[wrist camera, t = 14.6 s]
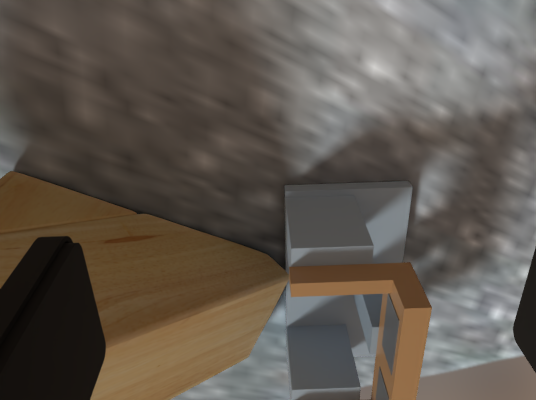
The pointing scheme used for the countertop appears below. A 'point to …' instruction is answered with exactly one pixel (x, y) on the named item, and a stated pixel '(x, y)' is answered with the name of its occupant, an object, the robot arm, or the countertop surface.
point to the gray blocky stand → (338, 253)
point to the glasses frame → (391, 318)
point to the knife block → (148, 287)
